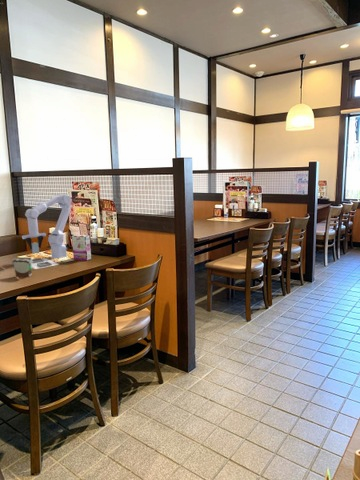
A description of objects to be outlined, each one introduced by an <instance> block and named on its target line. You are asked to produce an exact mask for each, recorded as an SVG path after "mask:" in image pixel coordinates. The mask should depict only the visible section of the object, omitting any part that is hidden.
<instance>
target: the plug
mask: <svg viewBox="0 0 360 480" xmlns="http://www.w3.org/2000/svg"><path fill="white" fill-rule="evenodd" d="M31 244H32V249H31V250H32V254H39V253H40V248H39V245H38V242H36V241H35V242H33V243H32V242H31Z"/></svg>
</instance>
